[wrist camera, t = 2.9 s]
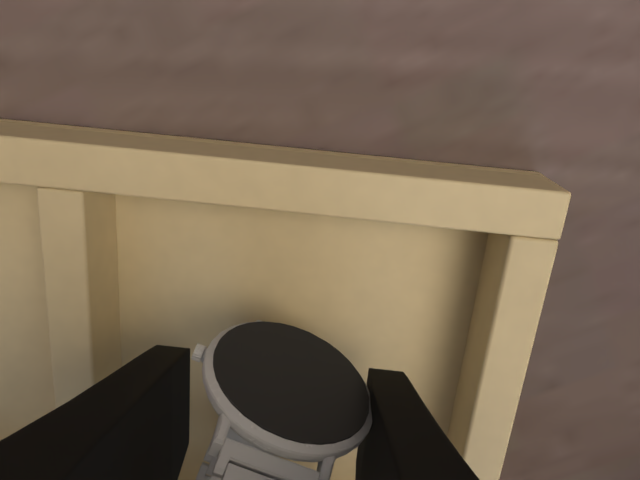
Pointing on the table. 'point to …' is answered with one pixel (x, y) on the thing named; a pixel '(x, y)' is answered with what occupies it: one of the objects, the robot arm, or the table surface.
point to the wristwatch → (279, 403)
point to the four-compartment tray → (269, 269)
